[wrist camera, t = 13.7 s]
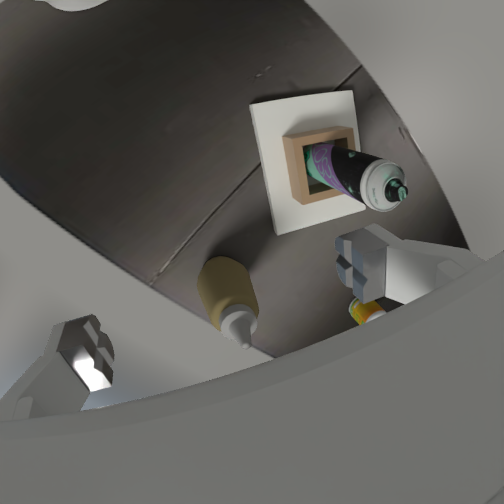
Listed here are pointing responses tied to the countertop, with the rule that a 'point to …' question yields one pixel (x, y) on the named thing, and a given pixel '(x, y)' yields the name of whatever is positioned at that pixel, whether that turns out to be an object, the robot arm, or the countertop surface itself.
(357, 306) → the supplement bottle
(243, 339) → the squeeze bottle
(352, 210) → the socket board
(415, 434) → the robot arm
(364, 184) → the spray can
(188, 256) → the countertop surface
